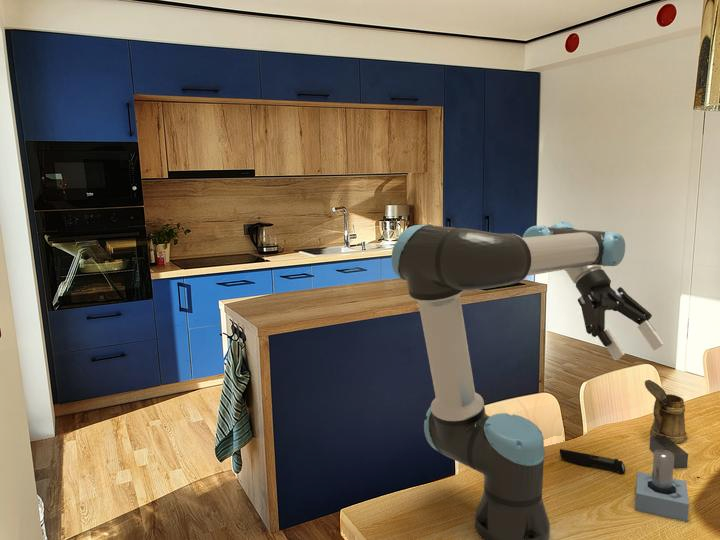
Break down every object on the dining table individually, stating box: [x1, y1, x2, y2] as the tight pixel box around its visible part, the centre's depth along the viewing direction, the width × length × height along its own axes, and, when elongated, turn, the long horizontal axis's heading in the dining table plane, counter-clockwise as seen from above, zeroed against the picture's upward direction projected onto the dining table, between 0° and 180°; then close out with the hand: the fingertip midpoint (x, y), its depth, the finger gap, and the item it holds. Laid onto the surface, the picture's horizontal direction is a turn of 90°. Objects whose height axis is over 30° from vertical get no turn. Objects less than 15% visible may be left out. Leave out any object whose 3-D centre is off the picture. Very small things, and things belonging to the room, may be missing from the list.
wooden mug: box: [644, 379, 688, 444], centre depth 156 cm, size 9×14×18 cm, turn 113°
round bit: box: [651, 449, 674, 495], centre depth 126 cm, size 4×4×12 cm
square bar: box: [648, 435, 689, 470], centre depth 146 cm, size 10×4×4 cm, turn 3°
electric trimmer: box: [559, 448, 626, 475], centre depth 144 cm, size 4×16×3 cm, turn 62°
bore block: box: [634, 471, 690, 522], centre depth 127 cm, size 10×10×4 cm
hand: (640, 352), depth 129 cm, fingers open, 13 cm apart
